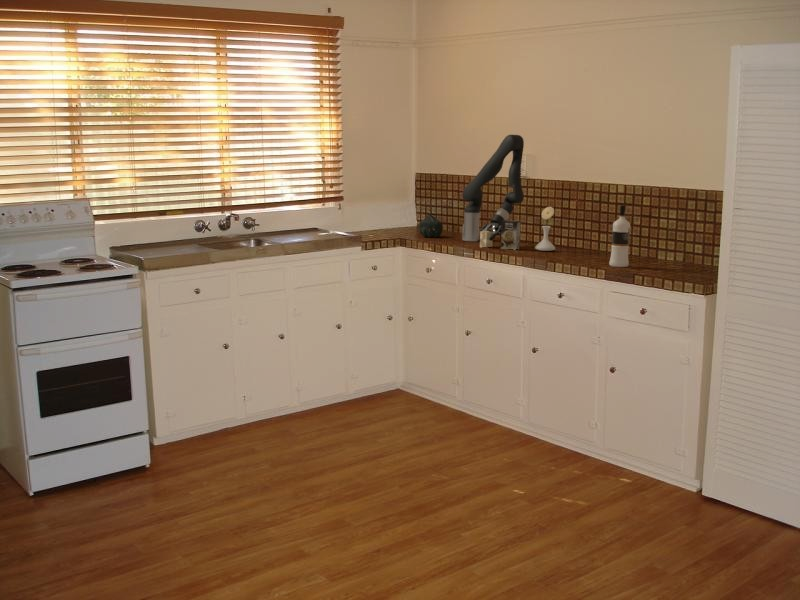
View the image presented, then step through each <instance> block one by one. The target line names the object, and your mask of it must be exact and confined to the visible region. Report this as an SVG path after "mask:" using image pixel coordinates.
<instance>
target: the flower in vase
mask: <svg viewBox="0 0 800 600" xmlns="http://www.w3.org/2000/svg"><path fill="white" fill-rule="evenodd" d="M554 214H555V209H554V207H552V206H547V207H545V208H544V209H543V210H542V212H541V218H542V221H543V223H545V224H547V225H542V226H541V227H542V230H543V238H542V239H541V241H540V242H539V243H537V244H536V245H535V246H534V249H535V250H536V251H540V252H541V251H543V252H551V251H555V250H556V247H555V245H554V244H553V243H552V242H551V241H550V240H549V237H548V236H549V232H550V228H551V227H552V226H551V225H555V222H554V220H550V219H551V218H552V217H553V216H554ZM548 219H549V221H548V222H546V221H545V220H548ZM549 225H550V226H549Z"/></svg>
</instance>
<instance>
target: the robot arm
mask: <svg viewBox="0 0 800 600" xmlns="http://www.w3.org/2000/svg"><path fill="white" fill-rule="evenodd" d="M524 142H525V141H524V137H523V136H521V135H519V134H508V135H506V136H505V137H504V139H503V140H502V141H501V143H500V145H498V148H497V149H496V150H495V152H494V153H493V154H492V155H491V157H490V158H489V159H488V160H487V162H486V163H485V164H484V165H483V166H482V168H481V169H480V171H479V172H478V173H477V175H476V176H474V178H473V179H472V180H471V181H470V182H469V183H468V184H467V185H465V187H464V188H463V190H462V195H461V196H462V199H463V200H464V201H467V202H469V203H468V205H467V206H465V207H464V214H463V217H464V218H463V224H462V232H461V233H462V236H461V238H462V239H461V240H462V241H465V242H479V240H480V231H489V232H493V234H492V235H491V236H490V238H489V239H490V240H491V241H492V240H494V239H495V238H496V237H497V236H498V237H499V236H500V235H501V234H502V221H503V220H509V217H510V215H511V214H512V213H513V211H514V206H513V205H517V204H519V205H520V204H521V203H523V201H524V199H525V198H524V197H525V196H524V195H525V194H524V191H523V190H524V189H523V187H522V180H521V179H522V176H521V175H522V174H521V172H522V171H521V170H522V162H523V161H522V160H523V153H524V147H525V146H524V144H525V143H524ZM511 152H512V160H511V165H510V166H509V169H508V186H509V187H510V188H512V189H513V191H509V192H508V193H507V194H506V195H505V197H504V200H503V202H502V205H500V207H499V209H498V210H497V211H496V212H495V213H494V215H493V216H492V218H491V219H490V221H489V223H488V224H487V223H486V222H485V223H484V224H483V225H482V227H481V228H480V216H481V215H480V213H481V209H482V202H483V190H482V187H483V186H484V185H486V184H488V183H489V182H491V181H492V180H494V179H495V178H496V177H497V175H498V174H499V173H500V172H501V171H502V168H503V164H504V161H505V159H506V157H507V156H508V155H509V154H510V153H511ZM492 242H493V241H492Z"/></svg>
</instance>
